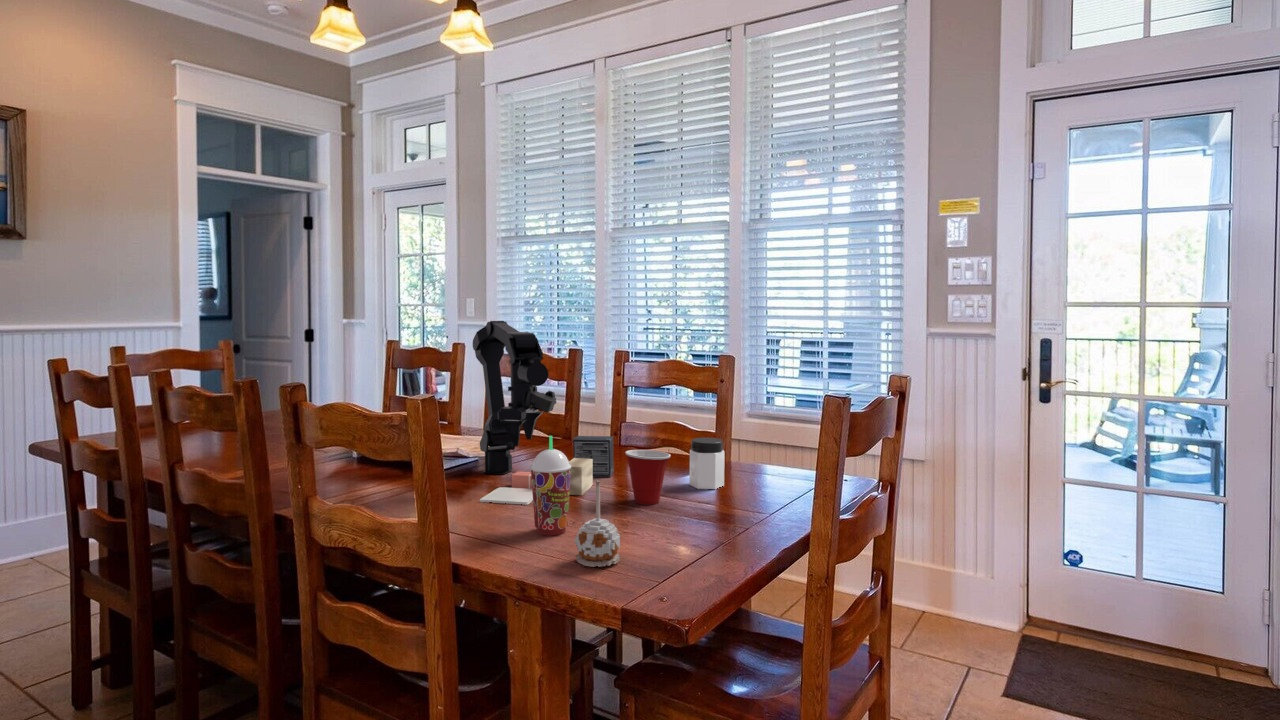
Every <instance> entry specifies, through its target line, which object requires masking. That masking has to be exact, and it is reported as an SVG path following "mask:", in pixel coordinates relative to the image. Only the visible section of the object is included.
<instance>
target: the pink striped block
mask: <svg viewBox="0 0 1280 720" xmlns="http://www.w3.org/2000/svg"><path fill="white" fill-rule="evenodd" d="M511 488H523V489H532V478H531V471H519V470H518V471H516V472H514V473H513V474H511Z"/></svg>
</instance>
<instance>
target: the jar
mask: <svg viewBox="0 0 1280 720" xmlns="http://www.w3.org/2000/svg"><path fill="white" fill-rule="evenodd" d="M690 447H691V448H690V449H689V480H688V481H689V482H688V483H689V486H691V487H693V488H695V489H696V488H697V489H696V490H708V489H715V490H718V489H720V488H719V487H721V488H723V487H725V452H726V451H725V450H724V441H723V440H722V439H721V438H716V437H696V438H693V439H691V443H690ZM722 486H723V487H722ZM717 488H718V489H717Z"/></svg>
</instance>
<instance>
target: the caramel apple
mask: <svg viewBox="0 0 1280 720" xmlns="http://www.w3.org/2000/svg"><path fill="white" fill-rule="evenodd" d="M595 516H596V517H595V518H593V519H590V520H588V521H586V522H585V523H584V524H583V525H581V527H580V528H578V533H576V537H574V545H575V546H576V547H577V551H578V554H576V555H575V556H576V557H575V558H576V559H575V561H577V562H578V564H581V565H582V566H587V567H592V568H594V567H596V566H598V568H599V567H601V568H602V567H606V565H607V566H609V567H610V566H611V565H616V564H617V563H618V562H620V561H621V554H619V553H618V550H619V549H621V534H620V533H619V532H618V527H616V526H615V524H613V523H612V522H610V520H607V519H605V518H601V481H600V480H596V481H595Z"/></svg>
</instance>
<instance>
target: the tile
mask: <svg viewBox="0 0 1280 720" xmlns="http://www.w3.org/2000/svg"><path fill="white" fill-rule="evenodd" d="M489 502H492V503H493V504H505V503H506V504H505V505H507V504H508V505H509V504H510V505H521V504H522V505H525V506H528V505H529V504H530V503H533V492H532V489H523V488H512V487H503V486H502V487H501V486H500V487H498V488H497V487H496V489H494V490H493V491H492V490H491V492H490V493H488V494H486V495H484V496H483V497H482V498H481V497H480V498H479V503H489ZM492 503H491V504H492ZM522 505H521V506H522Z"/></svg>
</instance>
